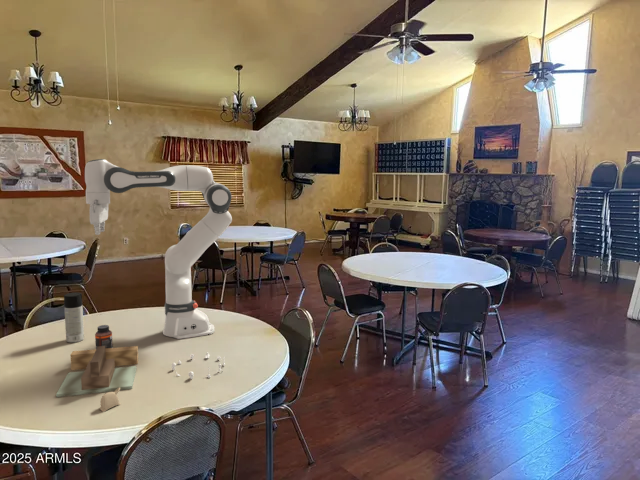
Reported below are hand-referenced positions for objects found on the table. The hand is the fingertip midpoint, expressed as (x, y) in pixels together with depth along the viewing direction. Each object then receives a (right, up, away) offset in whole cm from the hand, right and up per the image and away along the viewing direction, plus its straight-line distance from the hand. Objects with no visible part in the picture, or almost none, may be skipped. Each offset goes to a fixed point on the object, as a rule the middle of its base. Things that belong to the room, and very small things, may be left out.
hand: (99, 233), depth 181 cm
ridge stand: (+16, -51, -32) cm, 62 cm away
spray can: (-13, -45, +5) cm, 47 cm away
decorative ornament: (+27, -54, -47) cm, 76 cm away
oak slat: (+12, -49, -19) cm, 54 cm away
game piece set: (+46, -51, -19) cm, 71 cm away
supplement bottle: (+6, -48, -9) cm, 49 cm away
